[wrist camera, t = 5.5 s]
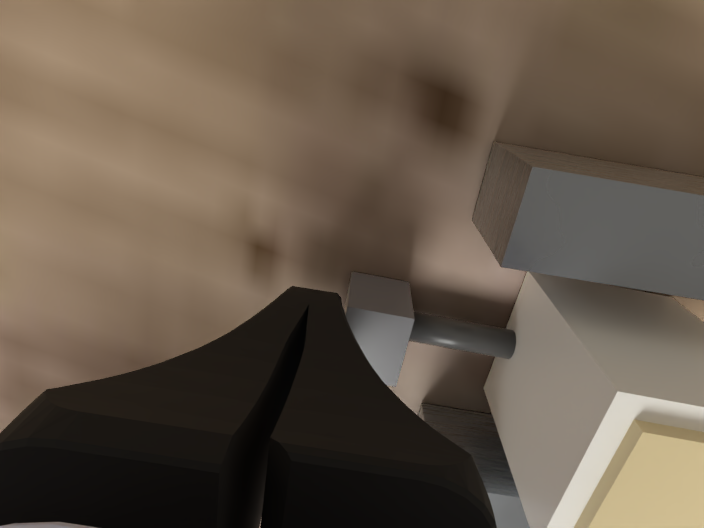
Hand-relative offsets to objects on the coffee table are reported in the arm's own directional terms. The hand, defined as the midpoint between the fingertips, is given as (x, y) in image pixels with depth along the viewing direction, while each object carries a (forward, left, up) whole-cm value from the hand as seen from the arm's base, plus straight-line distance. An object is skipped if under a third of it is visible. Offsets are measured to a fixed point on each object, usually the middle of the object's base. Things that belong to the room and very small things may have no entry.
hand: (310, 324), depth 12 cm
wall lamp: (+5, 0, -1) cm, 5 cm away
